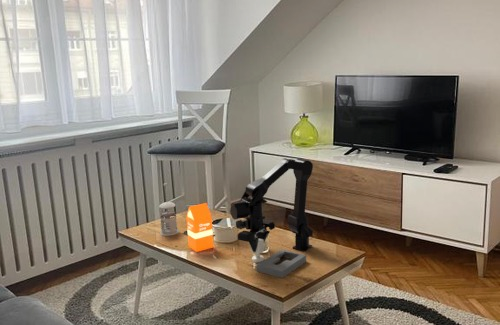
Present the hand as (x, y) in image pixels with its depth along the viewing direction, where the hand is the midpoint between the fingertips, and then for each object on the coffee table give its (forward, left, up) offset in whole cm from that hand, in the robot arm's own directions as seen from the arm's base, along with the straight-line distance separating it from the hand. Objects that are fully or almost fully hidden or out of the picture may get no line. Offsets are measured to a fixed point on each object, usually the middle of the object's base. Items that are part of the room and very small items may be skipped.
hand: (257, 250), depth 213 cm
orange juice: (+1, -31, -5) cm, 31 cm away
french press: (-6, -59, -5) cm, 60 cm away
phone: (-11, -43, -5) cm, 45 cm away
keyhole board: (0, +12, -4) cm, 13 cm away
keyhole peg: (0, 0, -4) cm, 4 cm away
